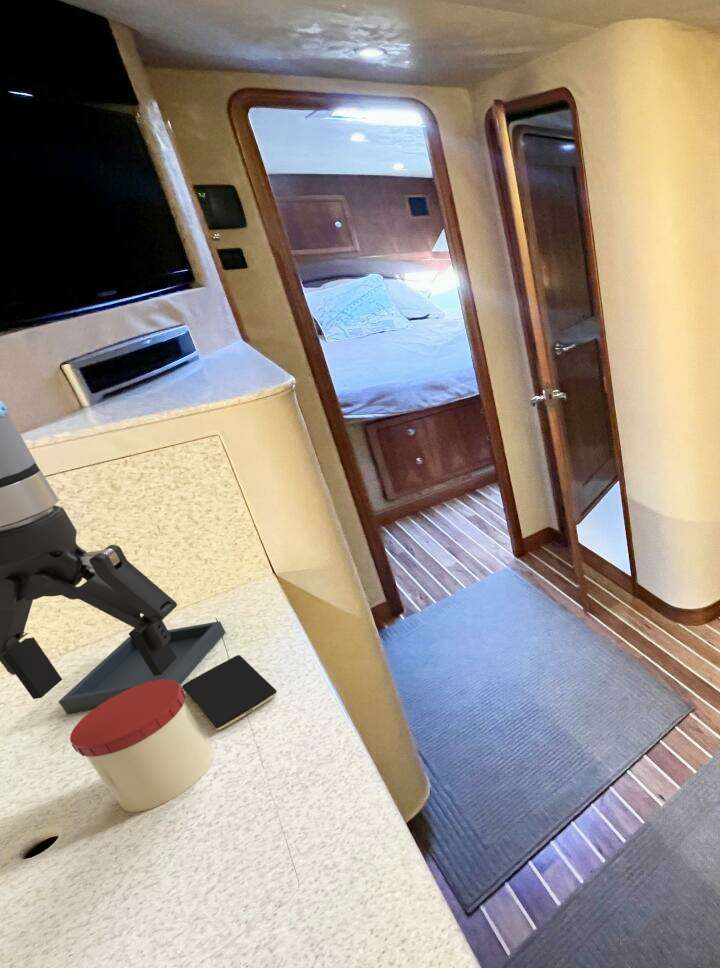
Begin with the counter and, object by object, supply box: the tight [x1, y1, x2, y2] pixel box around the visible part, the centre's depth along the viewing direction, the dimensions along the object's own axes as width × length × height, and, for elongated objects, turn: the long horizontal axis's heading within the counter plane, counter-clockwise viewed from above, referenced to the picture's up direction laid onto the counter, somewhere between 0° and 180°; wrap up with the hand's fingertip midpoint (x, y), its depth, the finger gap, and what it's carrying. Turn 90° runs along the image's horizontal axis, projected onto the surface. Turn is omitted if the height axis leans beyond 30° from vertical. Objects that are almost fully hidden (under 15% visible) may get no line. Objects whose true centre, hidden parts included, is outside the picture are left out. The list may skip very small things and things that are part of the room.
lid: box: [69, 680, 187, 757], centre depth 66 cm, size 10×10×2 cm
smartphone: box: [181, 654, 278, 731], centre depth 82 cm, size 7×1×15 cm
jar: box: [85, 700, 215, 813], centre depth 68 cm, size 9×9×12 cm
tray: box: [58, 620, 227, 715], centre depth 87 cm, size 14×14×3 cm
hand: (108, 677), depth 63 cm, fingers open, 11 cm apart
